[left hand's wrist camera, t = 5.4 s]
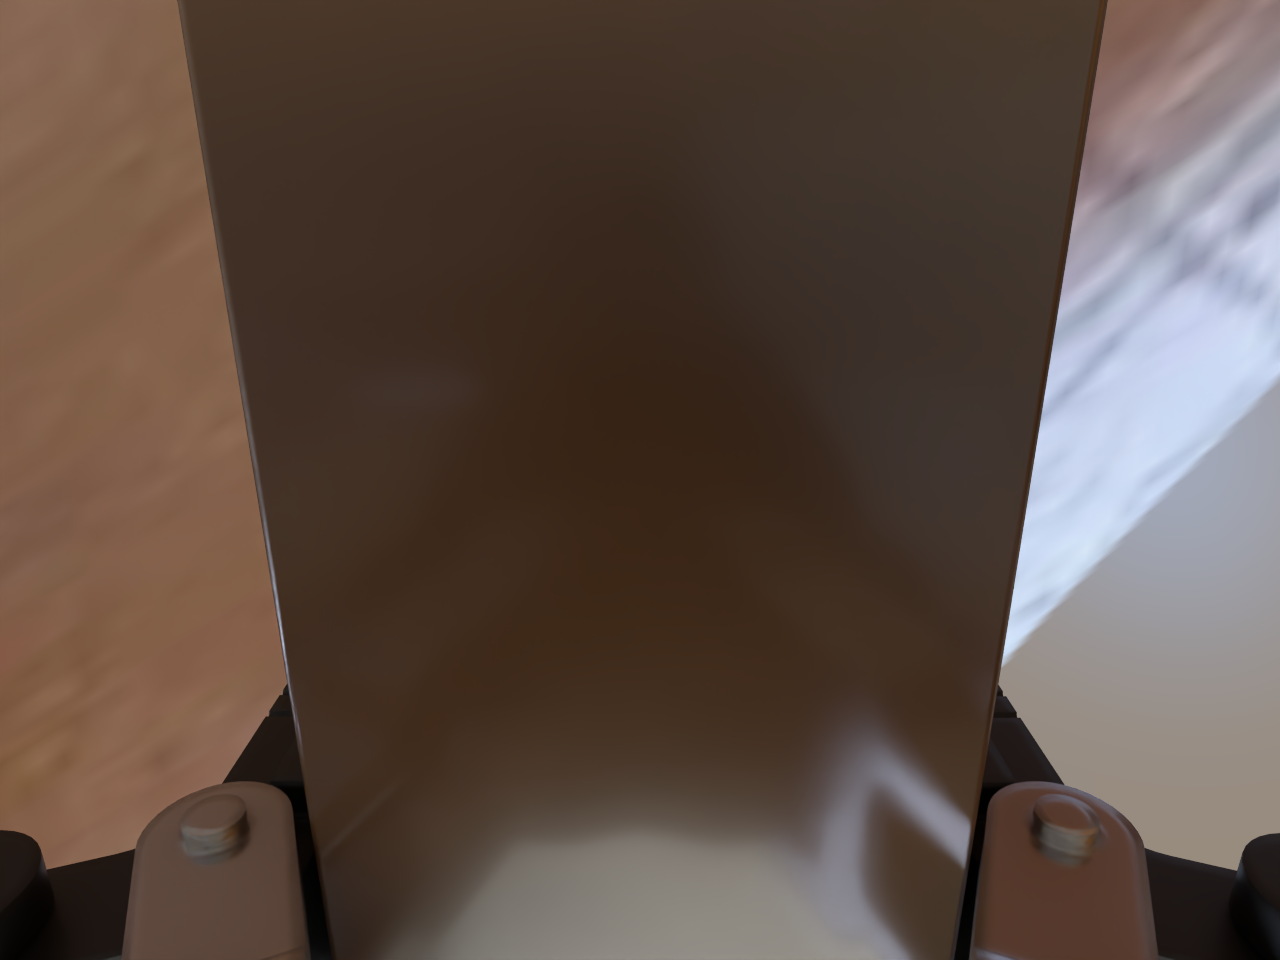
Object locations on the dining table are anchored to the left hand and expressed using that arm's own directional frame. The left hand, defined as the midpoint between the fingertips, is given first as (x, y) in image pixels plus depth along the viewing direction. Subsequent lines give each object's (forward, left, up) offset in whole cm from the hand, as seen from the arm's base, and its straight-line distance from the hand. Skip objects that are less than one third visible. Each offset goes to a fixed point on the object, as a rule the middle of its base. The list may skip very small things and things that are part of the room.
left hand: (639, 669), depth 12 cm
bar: (-5, +9, -4) cm, 11 cm away
